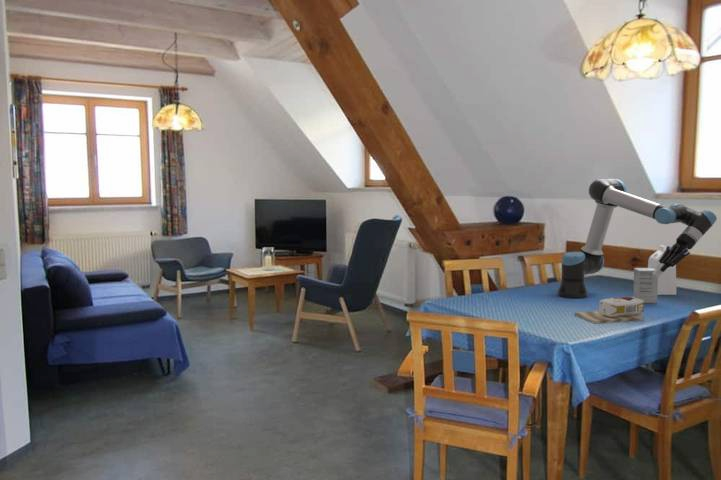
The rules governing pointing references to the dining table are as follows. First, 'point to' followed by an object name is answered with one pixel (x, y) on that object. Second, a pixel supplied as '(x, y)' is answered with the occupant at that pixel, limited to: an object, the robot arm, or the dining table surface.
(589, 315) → the wooden board
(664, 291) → the milk
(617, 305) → the juice carton
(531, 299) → the dining table surface
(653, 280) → the supplement box
